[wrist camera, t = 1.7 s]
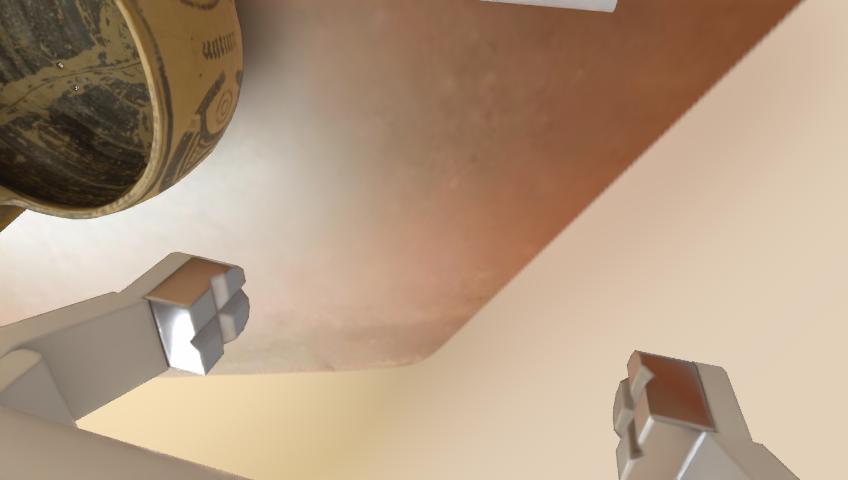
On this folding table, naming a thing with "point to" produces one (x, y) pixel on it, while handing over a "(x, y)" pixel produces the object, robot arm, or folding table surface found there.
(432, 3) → the folding table surface
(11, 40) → the ceramic bowl
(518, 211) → the folding table surface
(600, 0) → the fryer drawer
